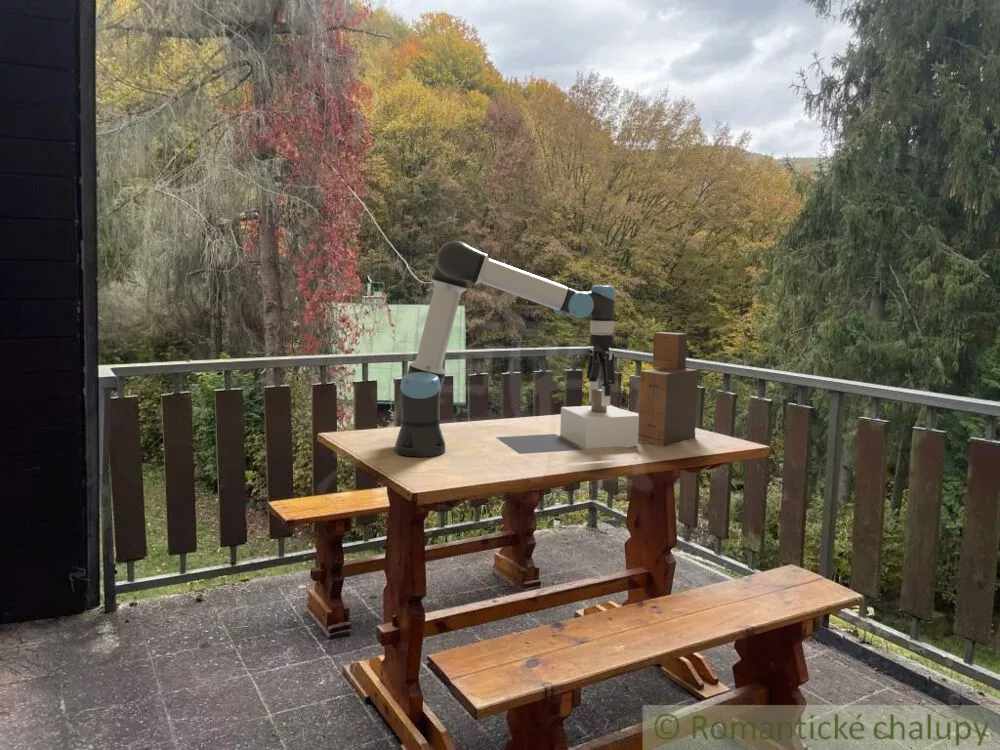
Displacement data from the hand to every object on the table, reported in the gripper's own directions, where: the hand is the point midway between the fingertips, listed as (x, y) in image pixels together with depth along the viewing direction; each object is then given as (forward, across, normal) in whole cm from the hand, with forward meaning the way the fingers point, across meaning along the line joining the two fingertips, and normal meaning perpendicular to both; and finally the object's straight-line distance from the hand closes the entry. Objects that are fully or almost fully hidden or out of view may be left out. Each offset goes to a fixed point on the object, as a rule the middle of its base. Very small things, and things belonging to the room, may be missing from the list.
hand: (599, 403), depth 238 cm
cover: (+13, 0, 0) cm, 13 cm away
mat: (+13, 0, +21) cm, 25 cm away
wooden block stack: (+13, -2, -24) cm, 27 cm away
